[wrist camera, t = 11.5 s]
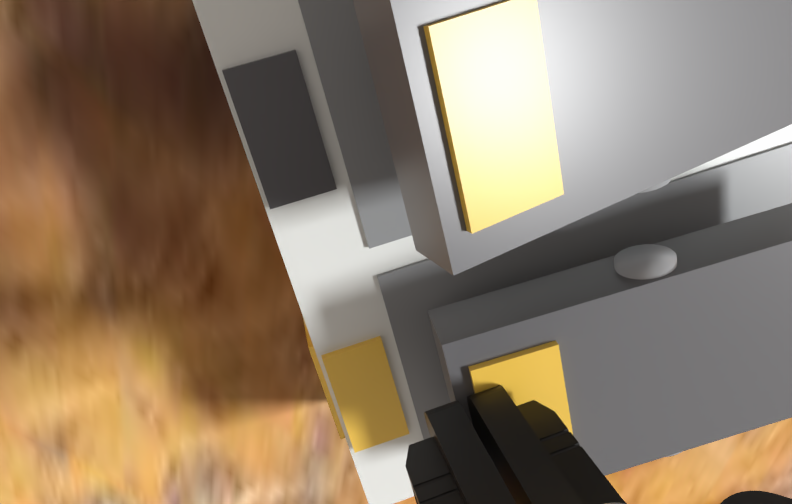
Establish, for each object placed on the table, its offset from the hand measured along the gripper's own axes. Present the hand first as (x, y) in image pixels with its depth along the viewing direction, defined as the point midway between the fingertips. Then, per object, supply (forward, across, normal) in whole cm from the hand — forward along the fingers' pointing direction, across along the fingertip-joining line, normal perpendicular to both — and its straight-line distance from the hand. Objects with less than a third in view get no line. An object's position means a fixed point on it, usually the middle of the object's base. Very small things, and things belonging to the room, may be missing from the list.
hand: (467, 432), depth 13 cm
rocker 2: (0, -4, 0) cm, 5 cm away
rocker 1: (0, -4, -6) cm, 8 cm away
